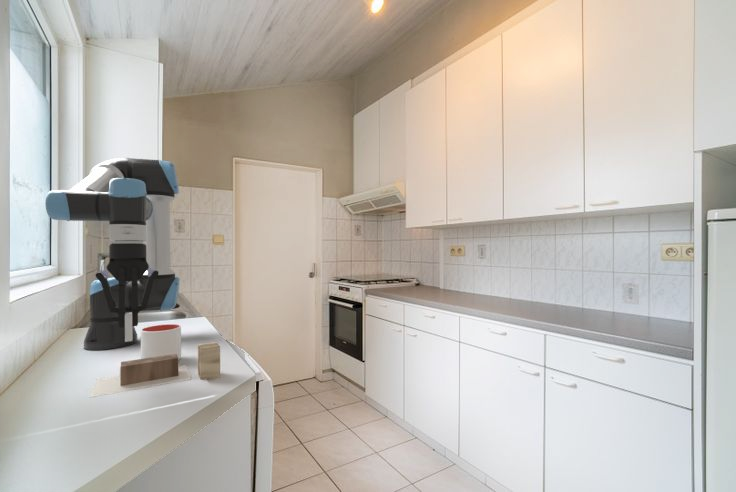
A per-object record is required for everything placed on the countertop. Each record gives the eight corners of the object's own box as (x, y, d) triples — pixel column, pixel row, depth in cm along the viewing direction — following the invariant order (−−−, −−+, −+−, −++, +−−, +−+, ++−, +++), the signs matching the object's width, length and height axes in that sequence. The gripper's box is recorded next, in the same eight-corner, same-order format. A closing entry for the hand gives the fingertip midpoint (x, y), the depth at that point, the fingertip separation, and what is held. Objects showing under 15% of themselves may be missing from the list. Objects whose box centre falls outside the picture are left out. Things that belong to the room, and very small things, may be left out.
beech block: (198, 376, 92) (197, 344, 92) (216, 372, 95) (216, 341, 95) (200, 381, 88) (200, 348, 89) (220, 377, 91) (219, 345, 91)
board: (95, 381, 89) (95, 379, 89) (186, 366, 100) (186, 364, 100) (89, 399, 78) (89, 397, 78) (191, 380, 89) (191, 378, 89)
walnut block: (121, 361, 89) (176, 353, 95) (121, 380, 89) (176, 370, 95) (120, 366, 85) (178, 357, 91) (120, 386, 85) (178, 375, 91)
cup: (188, 357, 108) (188, 324, 108) (166, 368, 98) (166, 331, 98) (157, 357, 109) (156, 324, 109) (132, 368, 99) (132, 331, 99)
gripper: (93, 242, 81) (93, 347, 81) (159, 242, 88) (160, 339, 88) (96, 243, 88) (96, 341, 87) (158, 243, 95) (159, 333, 94)
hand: (128, 340), depth 88 cm, fingers closed
